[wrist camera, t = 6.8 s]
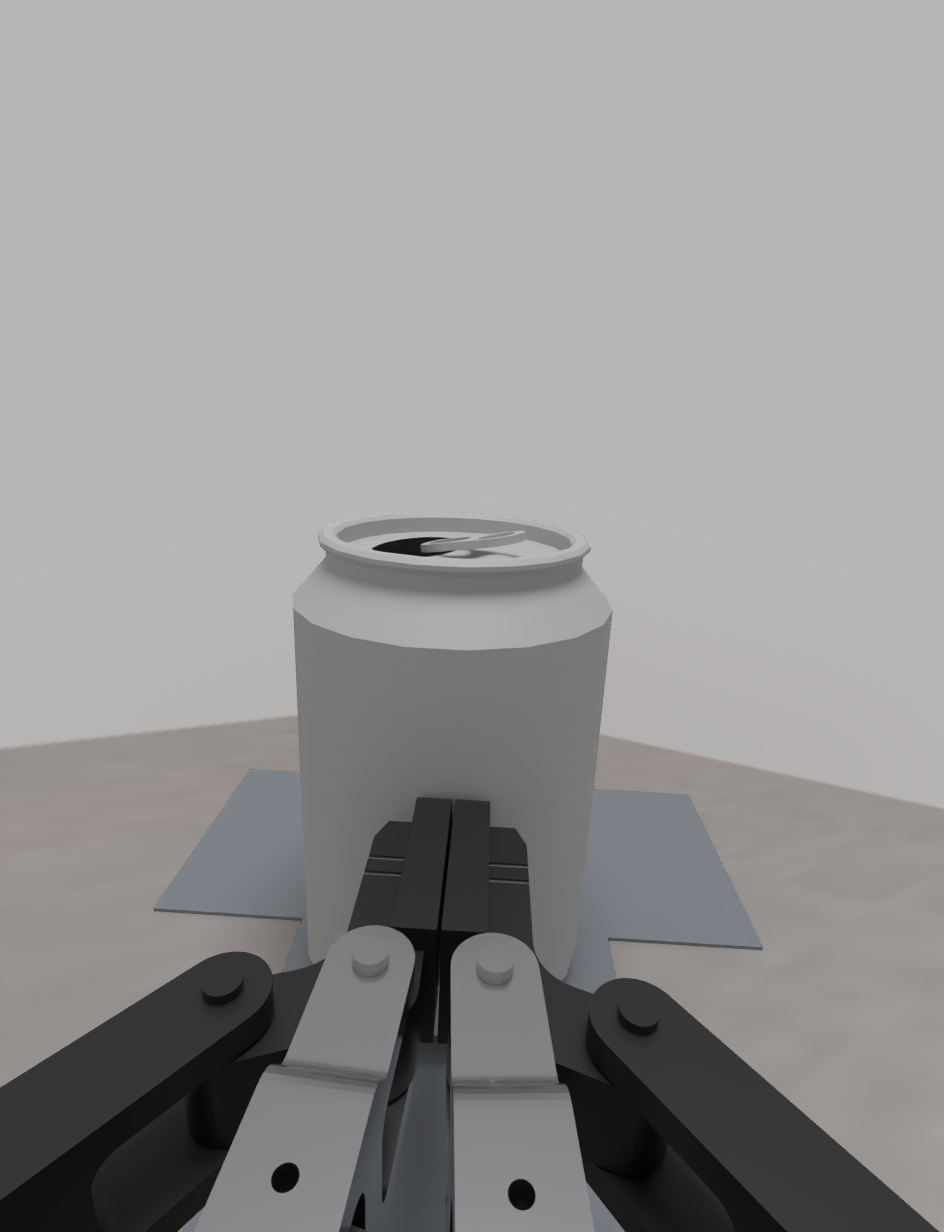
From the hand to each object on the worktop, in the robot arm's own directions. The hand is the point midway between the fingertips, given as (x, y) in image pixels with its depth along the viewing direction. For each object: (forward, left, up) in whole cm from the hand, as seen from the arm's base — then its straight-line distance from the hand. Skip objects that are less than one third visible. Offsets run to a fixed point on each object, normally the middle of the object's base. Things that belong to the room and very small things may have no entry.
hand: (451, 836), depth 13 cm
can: (0, -4, -6) cm, 7 cm away
